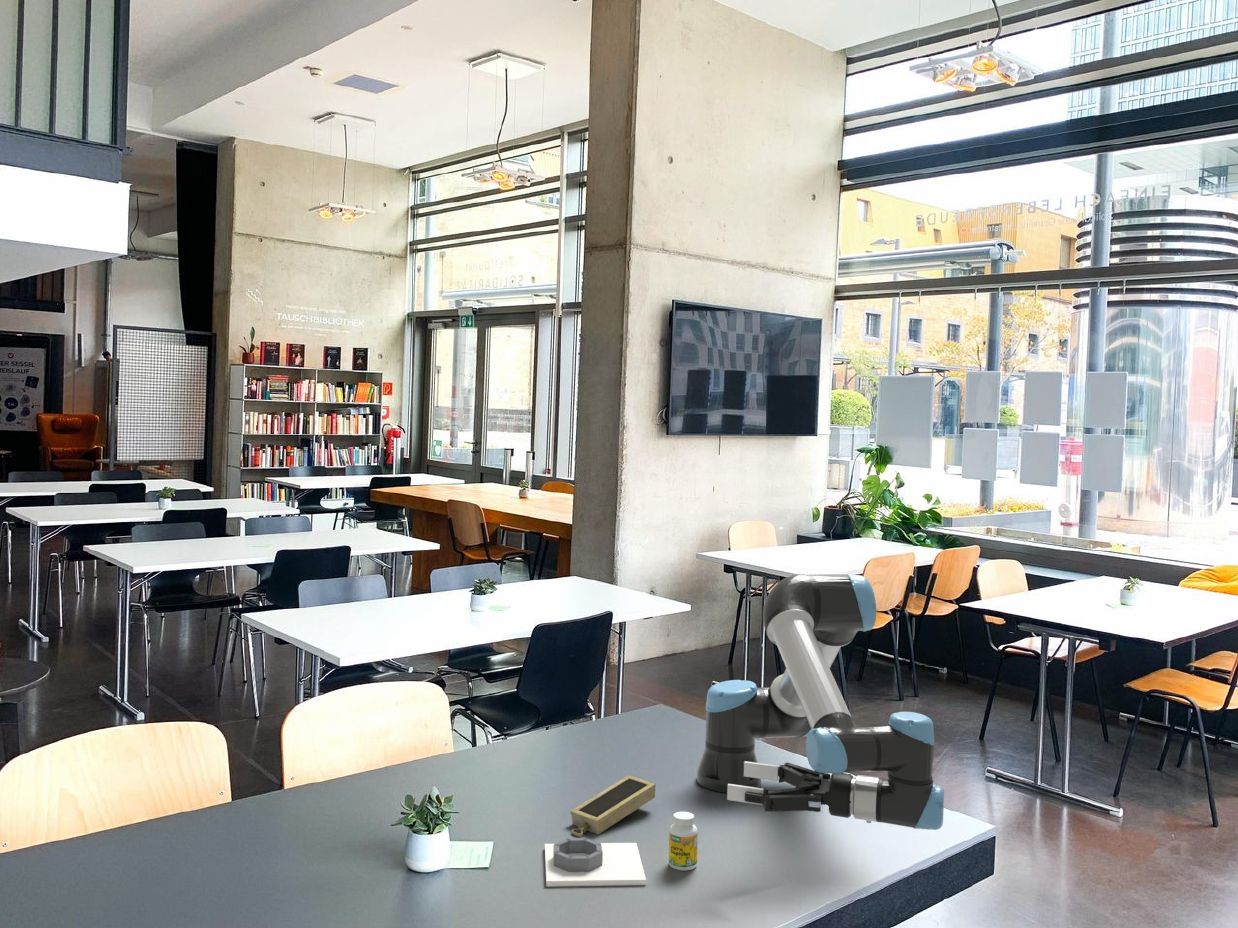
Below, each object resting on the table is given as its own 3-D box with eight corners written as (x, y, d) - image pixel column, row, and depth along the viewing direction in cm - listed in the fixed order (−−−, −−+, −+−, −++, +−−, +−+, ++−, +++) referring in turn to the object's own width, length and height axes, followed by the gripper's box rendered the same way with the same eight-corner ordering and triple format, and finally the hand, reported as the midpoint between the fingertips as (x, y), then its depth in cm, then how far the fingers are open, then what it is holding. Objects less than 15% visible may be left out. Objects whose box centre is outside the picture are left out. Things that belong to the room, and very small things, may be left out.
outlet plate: (636, 847, 194) (636, 830, 194) (645, 884, 178) (646, 865, 178) (544, 848, 192) (545, 831, 192) (546, 886, 176) (546, 867, 176)
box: (658, 803, 214) (656, 782, 213) (589, 852, 197) (587, 828, 196) (629, 794, 219) (627, 773, 218) (560, 841, 202) (557, 818, 202)
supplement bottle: (699, 861, 189) (701, 812, 188) (693, 873, 183) (694, 822, 183) (672, 857, 190) (673, 808, 190) (665, 868, 185) (666, 818, 185)
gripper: (843, 843, 164) (719, 823, 171) (859, 794, 187) (749, 778, 195) (845, 798, 164) (720, 780, 171) (860, 755, 187) (751, 741, 194)
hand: (736, 779), depth 183 cm, fingers open, 13 cm apart
